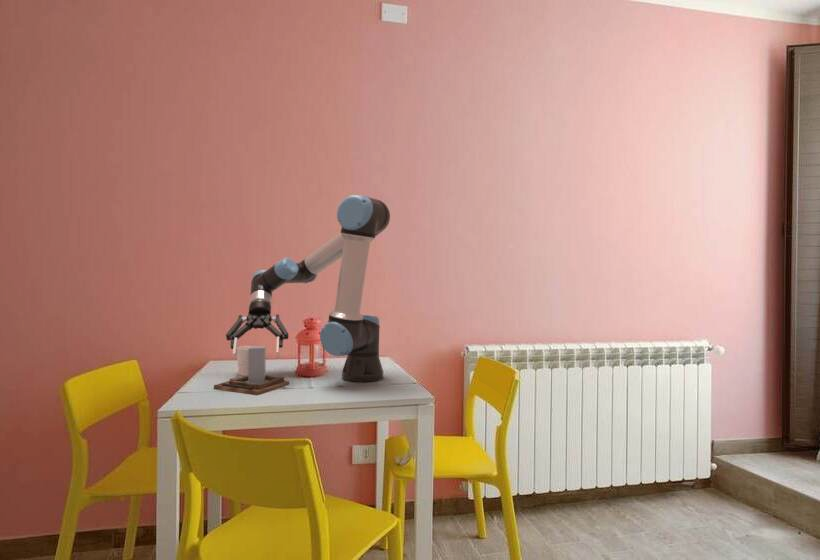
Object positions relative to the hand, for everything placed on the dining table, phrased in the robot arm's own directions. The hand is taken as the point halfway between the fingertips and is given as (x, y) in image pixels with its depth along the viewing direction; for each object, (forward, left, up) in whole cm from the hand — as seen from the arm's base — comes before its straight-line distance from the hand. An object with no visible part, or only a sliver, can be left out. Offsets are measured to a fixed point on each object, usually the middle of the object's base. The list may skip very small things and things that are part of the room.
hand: (256, 355), depth 166 cm
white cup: (+18, -17, -11) cm, 27 cm away
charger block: (+1, -2, -10) cm, 10 cm away
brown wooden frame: (+3, -2, -11) cm, 12 cm away
